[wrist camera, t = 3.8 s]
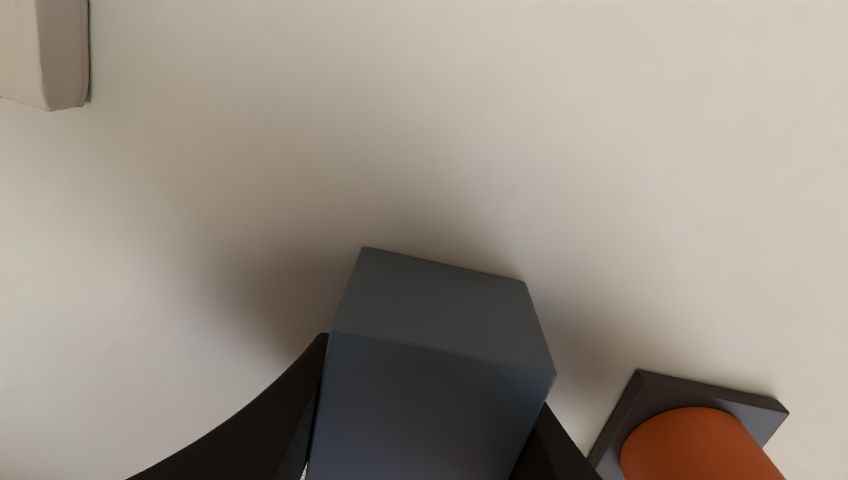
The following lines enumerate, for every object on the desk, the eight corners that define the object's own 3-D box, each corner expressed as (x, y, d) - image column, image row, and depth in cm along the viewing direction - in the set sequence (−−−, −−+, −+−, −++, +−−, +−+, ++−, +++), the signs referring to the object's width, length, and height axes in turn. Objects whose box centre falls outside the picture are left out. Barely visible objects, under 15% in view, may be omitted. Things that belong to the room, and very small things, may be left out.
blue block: (331, 405, 15) (297, 518, 12) (362, 245, 13) (330, 326, 9) (468, 433, 16) (476, 551, 12) (526, 281, 13) (558, 374, 9)
